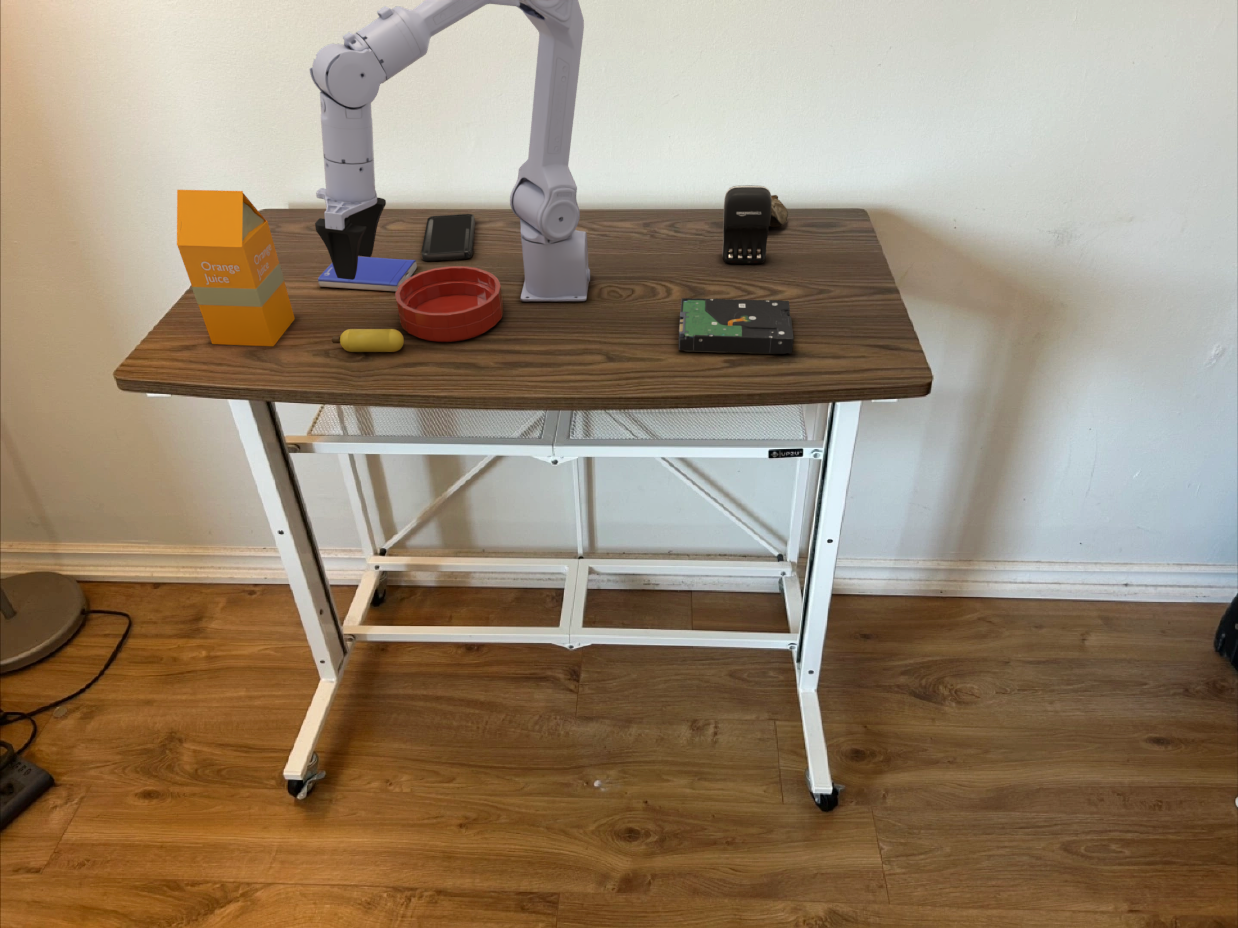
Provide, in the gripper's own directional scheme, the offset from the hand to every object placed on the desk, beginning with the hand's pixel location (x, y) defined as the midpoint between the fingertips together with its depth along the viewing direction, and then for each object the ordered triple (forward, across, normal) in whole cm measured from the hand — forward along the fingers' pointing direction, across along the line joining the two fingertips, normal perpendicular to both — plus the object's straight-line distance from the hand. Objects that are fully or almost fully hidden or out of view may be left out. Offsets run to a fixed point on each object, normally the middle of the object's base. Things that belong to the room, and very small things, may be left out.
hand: (354, 266), depth 112 cm
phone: (+8, -33, +6) cm, 35 cm away
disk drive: (+5, -3, +50) cm, 50 cm away
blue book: (+10, -20, -4) cm, 23 cm away
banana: (+11, +1, +2) cm, 12 cm away
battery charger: (+3, -25, +52) cm, 58 cm away
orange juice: (+13, -4, -16) cm, 21 cm away
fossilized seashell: (+1, -38, +55) cm, 67 cm away
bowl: (+9, -8, +11) cm, 16 cm away
